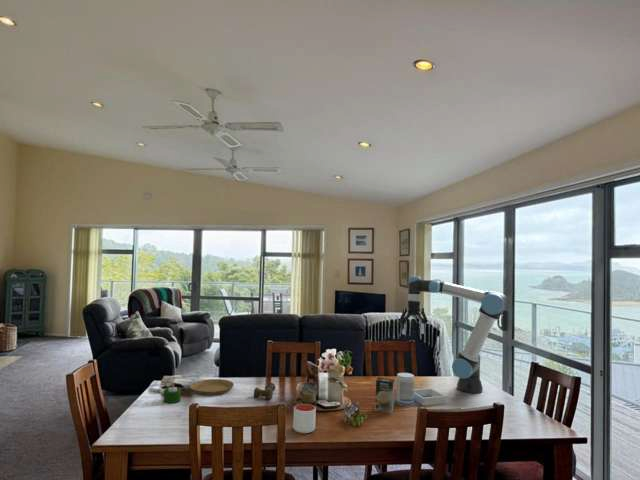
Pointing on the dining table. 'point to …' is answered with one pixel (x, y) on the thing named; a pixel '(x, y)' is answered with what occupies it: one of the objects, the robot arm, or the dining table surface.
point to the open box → (435, 399)
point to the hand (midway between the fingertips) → (413, 334)
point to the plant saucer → (212, 387)
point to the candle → (172, 395)
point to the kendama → (265, 391)
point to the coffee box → (384, 395)
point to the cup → (304, 418)
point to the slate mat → (406, 404)
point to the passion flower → (352, 410)
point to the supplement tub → (405, 388)
